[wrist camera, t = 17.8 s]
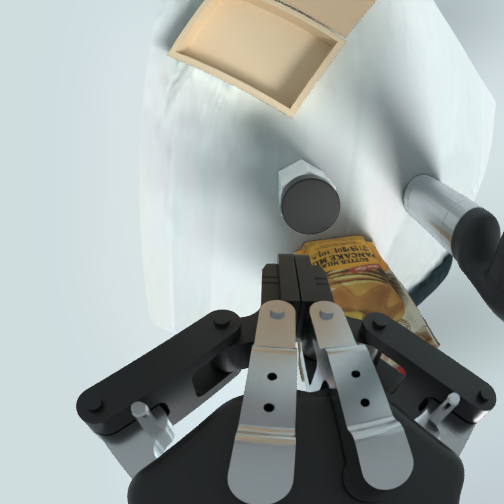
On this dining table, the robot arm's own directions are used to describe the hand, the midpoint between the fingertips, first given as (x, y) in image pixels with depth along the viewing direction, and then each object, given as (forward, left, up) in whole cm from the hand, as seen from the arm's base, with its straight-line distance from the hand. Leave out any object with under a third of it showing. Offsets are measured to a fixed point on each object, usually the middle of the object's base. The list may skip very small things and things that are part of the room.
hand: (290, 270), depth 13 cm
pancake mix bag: (-13, +18, -35) cm, 42 cm away
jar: (-5, +5, -35) cm, 36 cm away
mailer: (+3, -19, -35) cm, 40 cm away
